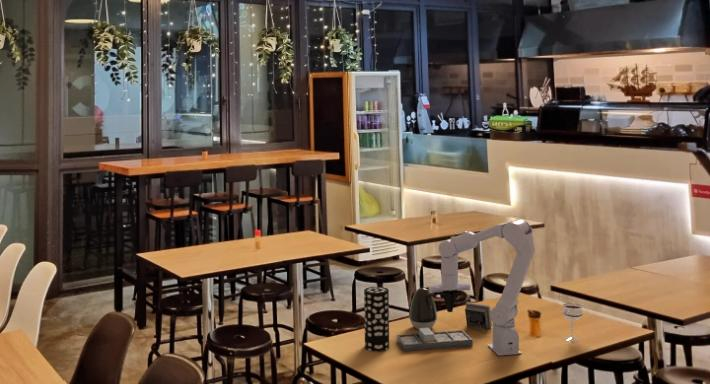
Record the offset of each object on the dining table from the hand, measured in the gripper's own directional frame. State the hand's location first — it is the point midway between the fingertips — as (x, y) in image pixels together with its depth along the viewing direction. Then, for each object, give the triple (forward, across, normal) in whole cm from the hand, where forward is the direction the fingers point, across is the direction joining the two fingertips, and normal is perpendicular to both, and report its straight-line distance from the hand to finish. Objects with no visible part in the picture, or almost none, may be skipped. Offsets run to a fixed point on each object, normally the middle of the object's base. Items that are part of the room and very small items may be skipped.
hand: (449, 311), depth 217 cm
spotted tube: (+10, +27, +3) cm, 29 cm away
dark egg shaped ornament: (+10, +6, -13) cm, 18 cm away
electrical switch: (+10, -14, -9) cm, 20 cm away
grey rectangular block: (+9, +10, +4) cm, 14 cm away
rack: (+10, +7, +4) cm, 13 cm away
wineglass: (+10, -41, +10) cm, 44 cm away
